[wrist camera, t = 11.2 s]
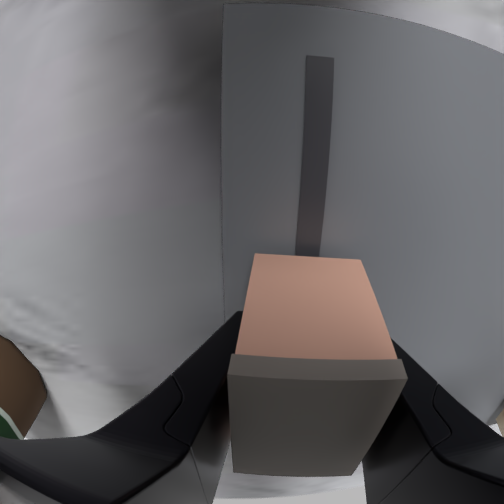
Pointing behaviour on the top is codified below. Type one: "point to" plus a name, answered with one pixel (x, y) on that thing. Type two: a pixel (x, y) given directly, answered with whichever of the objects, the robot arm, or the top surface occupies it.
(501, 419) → the block
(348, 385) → the block
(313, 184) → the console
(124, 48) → the top surface
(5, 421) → the beer bottle
